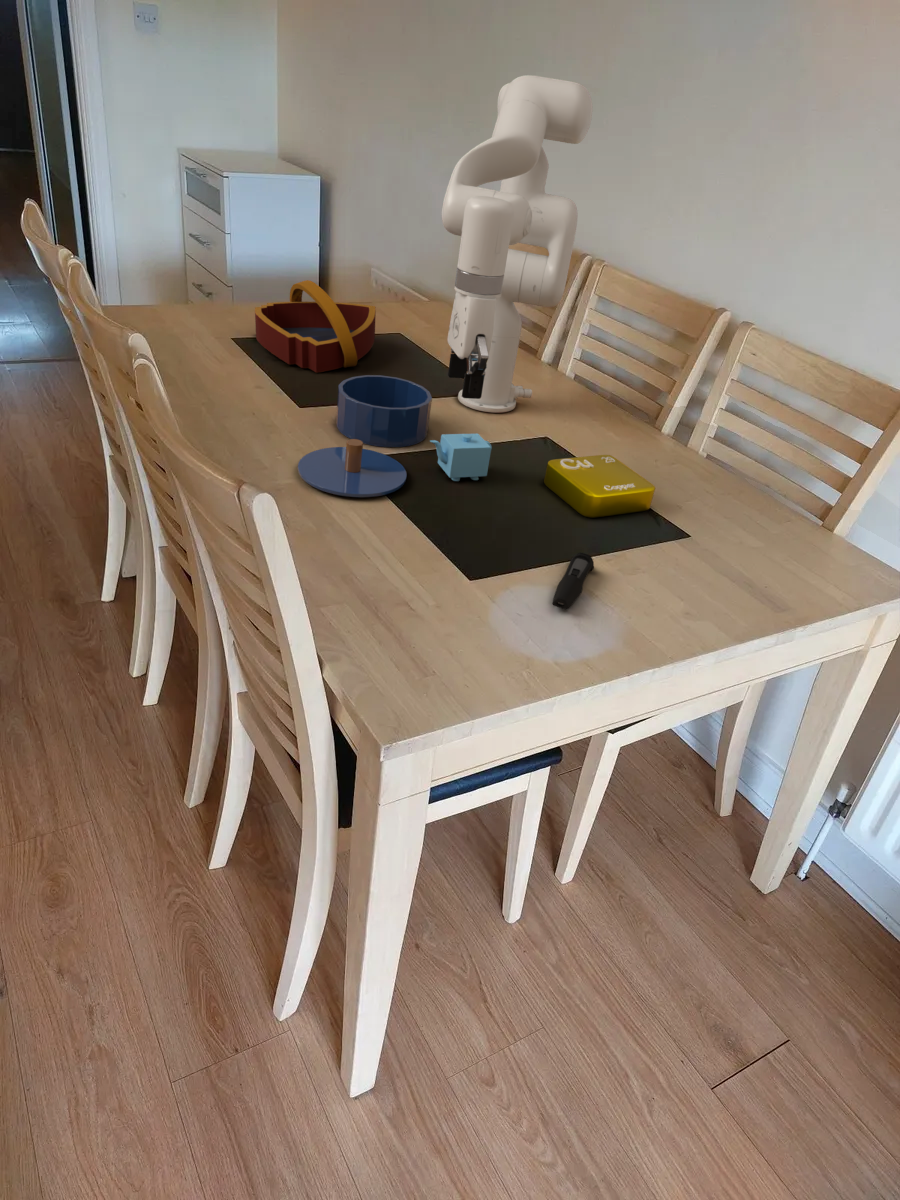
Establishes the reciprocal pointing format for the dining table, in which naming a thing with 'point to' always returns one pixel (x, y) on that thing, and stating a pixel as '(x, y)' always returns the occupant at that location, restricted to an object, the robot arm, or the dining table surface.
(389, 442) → the pot
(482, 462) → the teapot
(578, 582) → the electric trimmer
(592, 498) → the element tile
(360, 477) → the lid
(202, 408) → the dining table surface
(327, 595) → the dining table surface
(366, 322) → the decorative basket
